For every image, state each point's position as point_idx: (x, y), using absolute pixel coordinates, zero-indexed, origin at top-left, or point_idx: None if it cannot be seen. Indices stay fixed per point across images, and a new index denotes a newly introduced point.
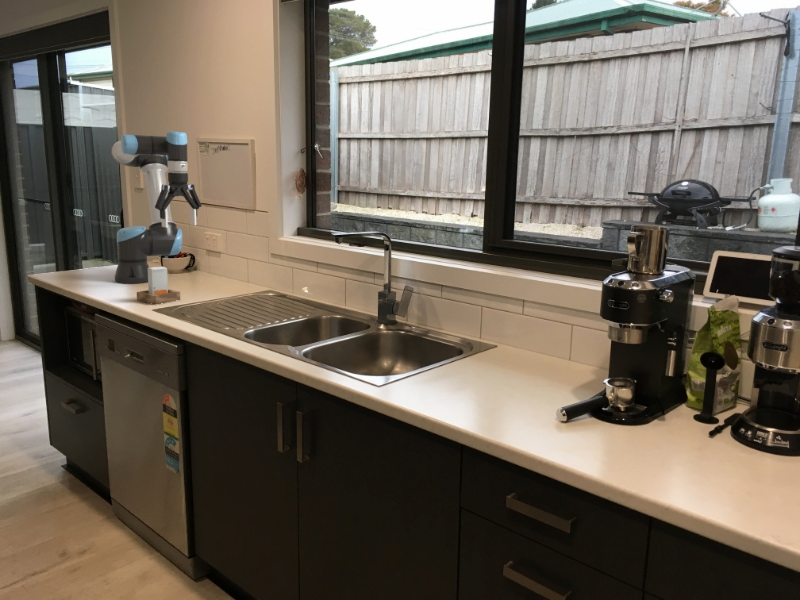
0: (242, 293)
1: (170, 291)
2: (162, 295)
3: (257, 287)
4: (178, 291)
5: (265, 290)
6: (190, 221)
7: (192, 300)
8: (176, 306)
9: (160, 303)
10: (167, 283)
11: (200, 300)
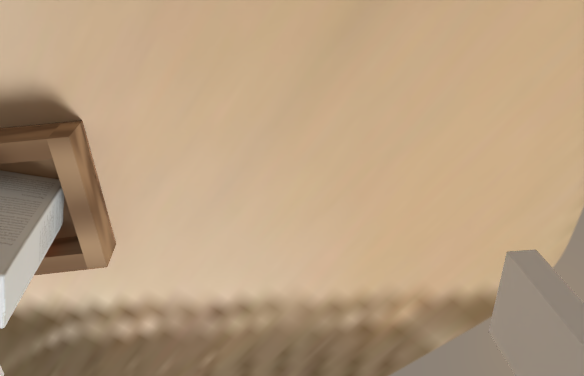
0: (398, 283)
1: (76, 229)
2: None
3: (539, 229)
4: (104, 258)
5: None
6: (533, 284)
7: (157, 273)
8: (48, 319)
9: None
10: (36, 269)
11: (184, 290)
